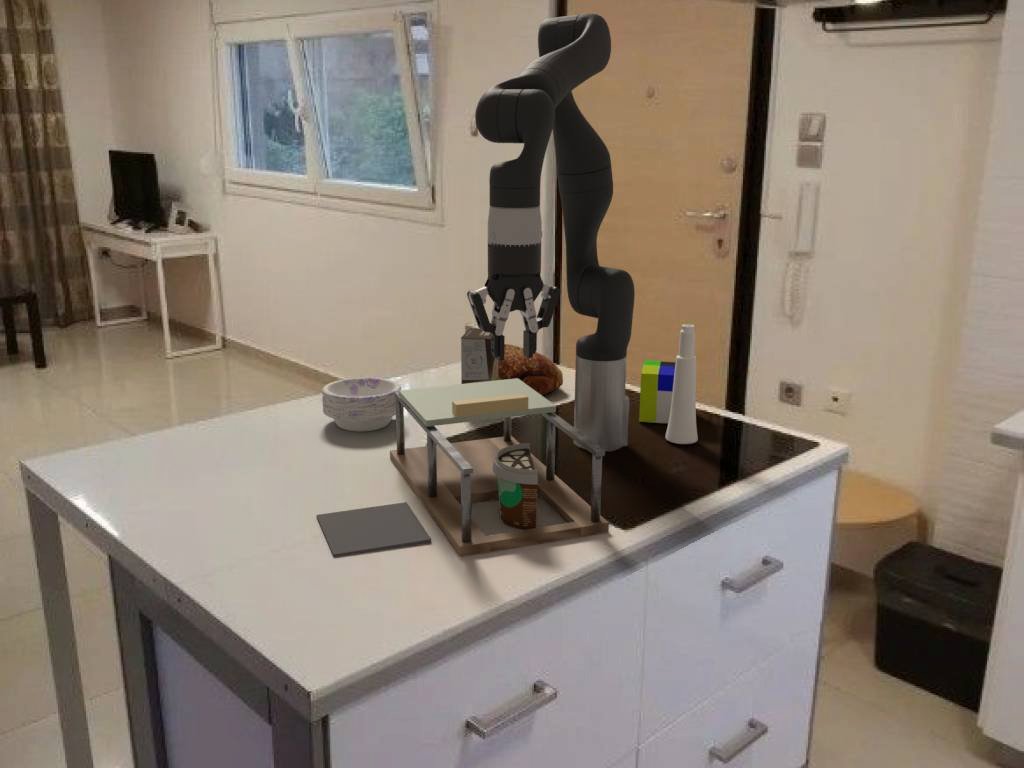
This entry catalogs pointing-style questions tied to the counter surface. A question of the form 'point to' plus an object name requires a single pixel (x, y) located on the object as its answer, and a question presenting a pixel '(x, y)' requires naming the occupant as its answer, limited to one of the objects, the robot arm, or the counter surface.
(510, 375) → the bread
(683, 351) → the cosmetic bottle
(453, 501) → the wooden base board
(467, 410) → the sliding cover
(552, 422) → the cover rails
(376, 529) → the charcoal mat
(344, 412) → the paper bowls
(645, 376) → the puzzle toy
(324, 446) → the counter surface
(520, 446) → the food container
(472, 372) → the coffee box
